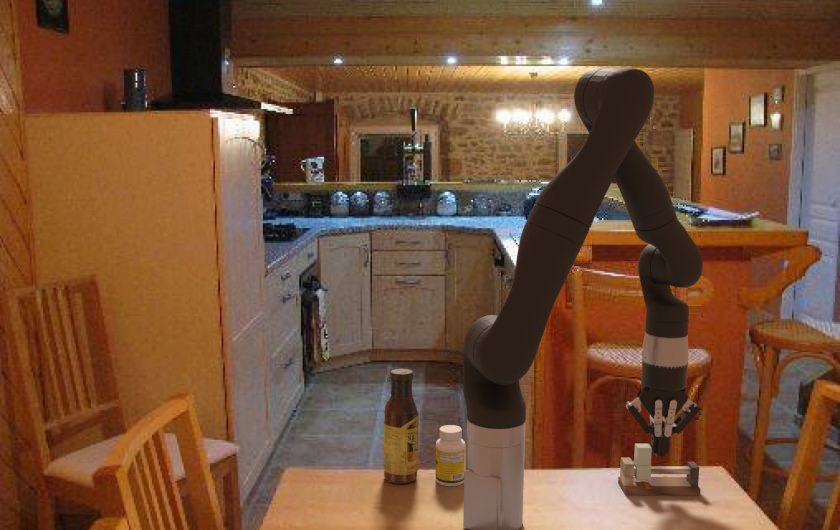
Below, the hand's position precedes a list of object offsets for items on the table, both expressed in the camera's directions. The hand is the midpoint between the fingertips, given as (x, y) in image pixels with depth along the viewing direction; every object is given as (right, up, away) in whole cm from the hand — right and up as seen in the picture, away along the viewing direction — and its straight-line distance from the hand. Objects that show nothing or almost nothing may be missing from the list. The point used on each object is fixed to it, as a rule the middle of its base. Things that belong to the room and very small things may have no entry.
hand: (659, 455), depth 143 cm
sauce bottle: (-45, -5, +5) cm, 46 cm away
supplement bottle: (-36, -6, +4) cm, 37 cm away
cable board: (0, -6, +1) cm, 6 cm away
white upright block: (-3, -4, +1) cm, 5 cm away
